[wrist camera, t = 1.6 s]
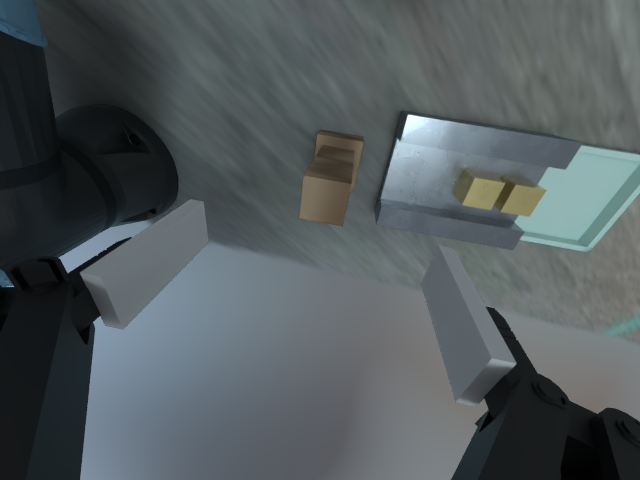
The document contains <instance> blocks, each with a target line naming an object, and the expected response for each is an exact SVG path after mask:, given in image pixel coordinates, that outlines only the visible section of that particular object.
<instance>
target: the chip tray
mask: <svg viewBox="0 0 640 480" xmlns="http://www.w3.org/2000/svg"><path fill="white" fill-rule="evenodd" d="M538 185H539V186H541V187H542V188H544V189H546V190H547V191H546V192H545V194H544V195H543V197H542V198H541V200H540V201H539V203H538V205H537V206H536V208H535V209H534V211H533V212H532V214H531V215H530V217H527V216H521V215H518V217H517V219H516V220H515V223H516V224H517V225H518V226H519V227H520V228H521V229H522V230H523V231H525V232H524V234H523V235H522V237H521V238H520V240H524V241H529V242H535V243H540V244H546V245H552V246H557V247H563V248H568V249H574V250H579V251H585V252H589V251H590V250H591V249H592V248H593V247H594V246H595V244H596V243H597V242H598V241H599V240H600V239H601V237H602V236H603V235H604V234H605V233H606V232H607V230H608V229H609V228H610V227H611V226H612V225H613V223H614V222H615V221H616V220H617V219H618V218H619V216H620V215H621V214H622V213H623V212H624V211H625V209H626V208H627V207H628V206H629V205H630V204H631V202H632V201H633V200H634V199H635V198H636V197H637V195H638V194H639V193H640V153H635V152H629V151H623V150H617V149H610V148H604V147H598V146H592V145H586V144H582V145H581V147H580V149H579V150H578V152H577V153H576V155H575V156H574V158H573V159H572V161H571V162H570V164H569V165H568V167H567V168H566V170H564V169H558V168H552V167H548V168H547V170H546V172H545V173H544V175H543V177H542V178H541V180H540V181H539V183H538Z"/></svg>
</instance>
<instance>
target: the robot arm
mask: <svg viewBox="0 0 640 480" xmlns="http://www.w3.org/2000/svg"><path fill="white" fill-rule="evenodd" d="M46 46H47V40H46V37H45V36H44V35H43V34H42V33H41V28H40V24H39V19H38V15H37V11H36V6H35V2H34V0H0V480H80V474H81V464H82V454H83V443H84V433H85V424H86V414H87V403H88V394H89V383H90V374H91V364H92V354H93V344H94V334H95V327H94V324H93V321H95V320H96V319H97V318H98V317H99V316H101V318H102V320H103V322H104V324H105V326H109V327H114V328H118V329H124V328H125V327H126V326H127V325H128V324H129V323H130V322H131V321H132V320H133V319H134V318H135V317H136V316H137V315H138V314H139V313H140V312H141V311H142V310H143V309H144V308H145V307H146V306H147V305H148V304H149V303H150V302H151V301H152V300H153V299H154V298H155V297H156V296H157V295H158V294H159V293H160V292H161V291H162V290H163V288H164V287H165V286H166V285H167V284H168V283H169V282H170V281H171V280H172V279H173V278H174V277H175V276H176V275H177V274H178V273H179V272H180V271H181V270H182V269H183V268H184V267H185V266H186V265H187V264H188V263H189V262H190V261H191V260H192V259H193V258H194V257H195V256H196V255H197V254H198V253H199V252H200V251H201V250H202V249H203V248H204V247H205V246H206V245H207V244H208V243H209V241H208V233H207V225H206V217H205V209H204V202H203V201H198V200H192V199H190V200H189V201H187V202H186V203H184V204H183V205H181V206H180V207H178V208H177V209H175V210H174V211H172V212H171V213H169V214H168V215H166V216H164V217H163V218H161V219H160V220H158V221H157V222H155V223H154V224H152V225H151V226H149V227H148V228H146V229H145V230H143V231H142V232H140V233H139V234H137V235H136V236H134V237H133V238H132V237H129V238H126V239H124V240H121V241H118V242H116V243H115V244H113V245H112V246H110V247H108V248H107V250H104V251H103V252H101V253H99V254H98V256H94V257H93V258H91V259H90V260H88V261H87V262H85V263H83V264H82V265H80V266H79V267H77V268H76V269H74V270H73V271H71V272H69V273H67V272H66V270H65V268H64V266H63V264H62V262H61V260H60V259H59V257H60V256H62V255H64V254H65V253H67V252H69V251H70V250H72V249H74V248H76V247H77V246H79V245H80V244H82V243H84V242H86V241H87V240H89V239H91V238H92V237H94V236H96V235H97V234H99V233H101V232H102V231H104V230H106V229H108V228H110V227H114V226H119V225H124V224H129V223H134V222H140V221H145V220H148V219H151V218H154V217H156V216H157V215H159V214H160V213H162V212H164V211H165V210H167V209H168V208H169V207H170V206H171V205H172V203H173V202H174V200H175V198H176V195H177V190H178V178H177V172H176V169H175V165H174V163H173V160H172V158H171V156H170V154H169V152H168V150H167V149H166V147H165V145H164V144H163V143H162V141H161V140H160V139H159V137H158V136H157V135H156V134H155V133H154V132H153V131H152V130H151V129H150V128H149V127H148V126H147V125H146V124H145V123H144V122H142V121H141V120H140V119H138V118H137V117H135V116H134V115H132V114H130V113H129V112H127V111H124V110H122V109H120V108H117V107H113V106H109V105H88V106H80V107H76V108H72V109H70V110H68V111H66V112H64V113H63V114H61V115H59V116H57V117H56V118H55V115H54V109H53V103H52V98H51V92H50V86H49V81H48V74H47V68H46V61H45V55H44V48H43V47H46ZM7 286H14V287H7ZM421 286H422V289H423V292H424V296H425V299H426V303H427V306H428V309H429V313H430V316H431V320H432V323H433V327H434V330H435V334H436V337H437V340H438V344H439V347H440V351H441V354H442V358H443V361H444V364H445V368H446V371H447V375H448V378H449V381H450V385H451V388H452V392H453V395H454V398H455V402H458V403H462V404H467V405H471V406H477V405H478V404H479V403H480V402H481V401H482V400H483V399H484V398H485V401H486V403H487V406H488V409H489V410H488V411H487V412H486V413H485V414H484V415H483V416H482V417H481V418H480V419H479V420H478V421H477V422H476V423H475V424H476V425H477V426H478V427H477V429H476V432H475V433H474V435H473V437H472V439H471V441H470V443H469V445H468V447H467V449H466V451H465V453H464V455H463V457H462V459H461V461H460V463H459V465H458V467H457V469H456V471H455V473H454V475H453V477H452V479H451V480H640V422H639V421H638V420H636V419H634V418H633V417H631V416H630V415H628V414H627V413H625V412H622V411H620V410H617V409H615V408H606V409H604V410H603V411H601V412H600V413H598V414H596V413H594V412H592V411H590V410H588V409H586V408H583V407H581V406H579V405H577V404H575V403H573V402H571V401H569V399H568V397H567V395H566V394H565V393H564V392H563V391H562V390H561V389H560V388H559V386H557V385H556V384H555V383H553V382H552V381H551V380H550V379H548V378H546V377H544V376H542V375H541V374H538V373H537V372H536V370H535V368H534V367H533V365H532V363H531V362H530V360H529V358H528V357H527V355H526V353H525V352H524V350H523V349H522V347H521V345H520V343H519V342H518V340H516V337H515V335H514V334H513V332H512V331H511V329H510V327H509V325H508V324H507V322H506V320H505V319H504V318H503V317H502V316H501V315H500V314H499V313H498V312H497V311H496V310H495V309H494V308H490V307H485V305H484V303H483V301H482V300H481V298H480V296H479V294H478V292H477V291H476V289H475V287H474V285H473V283H472V282H471V280H470V278H469V276H468V274H467V272H466V271H465V269H464V267H463V265H462V263H461V262H460V260H459V258H458V256H457V254H456V253H455V251H454V249H453V248H449V247H444V246H438V248H437V250H436V253H435V255H434V257H433V259H432V261H431V263H430V266H429V268H428V270H427V272H426V274H425V277H424V279H423V281H422V283H421Z"/></svg>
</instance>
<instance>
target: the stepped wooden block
mask: <svg viewBox="0 0 640 480" xmlns="http://www.w3.org/2000/svg"><path fill="white" fill-rule="evenodd" d="M363 142H364V141H363V137H361V136H355V135H349V134H343V133H337V132H331V131H325V130H320V131H319V133H318V134H317V140H316V148H315V157H314V160H313V161H312V163H311V165H310V166H309V168H308V169H307V171H306V173H305V174H304V177H303V187H302V197H301V207H300V217H299V218H300V219H306V220H311V221H316V222H322V223H327V224H333V225H338V226H343V223H344V218H345V213H346V208H347V203H348V198H349V194H350V190H353V189H354V184H355V179H356V175H357V170H358V165H359V161H360V156H361V151H362V147H363Z"/></svg>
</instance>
